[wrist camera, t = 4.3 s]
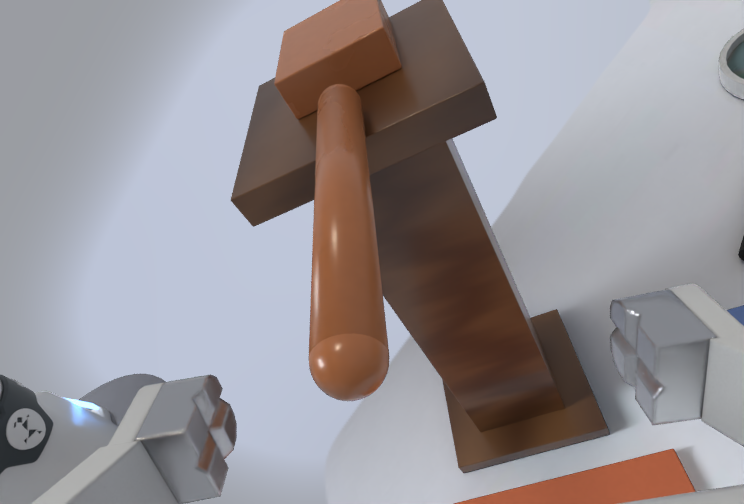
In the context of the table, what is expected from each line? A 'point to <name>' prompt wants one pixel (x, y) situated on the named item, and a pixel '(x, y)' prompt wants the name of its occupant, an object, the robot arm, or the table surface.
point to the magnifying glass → (733, 75)
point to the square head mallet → (342, 189)
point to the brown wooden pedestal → (437, 245)
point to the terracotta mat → (604, 484)
